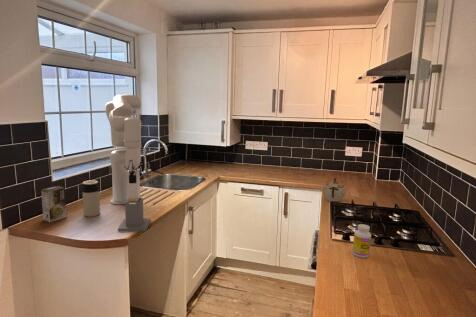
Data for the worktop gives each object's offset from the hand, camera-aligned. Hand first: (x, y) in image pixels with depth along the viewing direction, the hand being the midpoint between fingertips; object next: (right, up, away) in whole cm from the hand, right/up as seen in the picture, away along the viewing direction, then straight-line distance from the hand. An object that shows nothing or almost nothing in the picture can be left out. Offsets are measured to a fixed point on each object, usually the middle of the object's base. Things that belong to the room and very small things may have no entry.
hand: (133, 181), depth 152 cm
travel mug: (-28, -19, +18) cm, 39 cm away
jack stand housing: (-1, -22, +4) cm, 23 cm away
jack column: (0, -14, +3) cm, 14 cm away
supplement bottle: (+103, -30, -17) cm, 108 cm away
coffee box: (-44, -20, +10) cm, 49 cm away
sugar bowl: (+114, -17, +58) cm, 129 cm away
